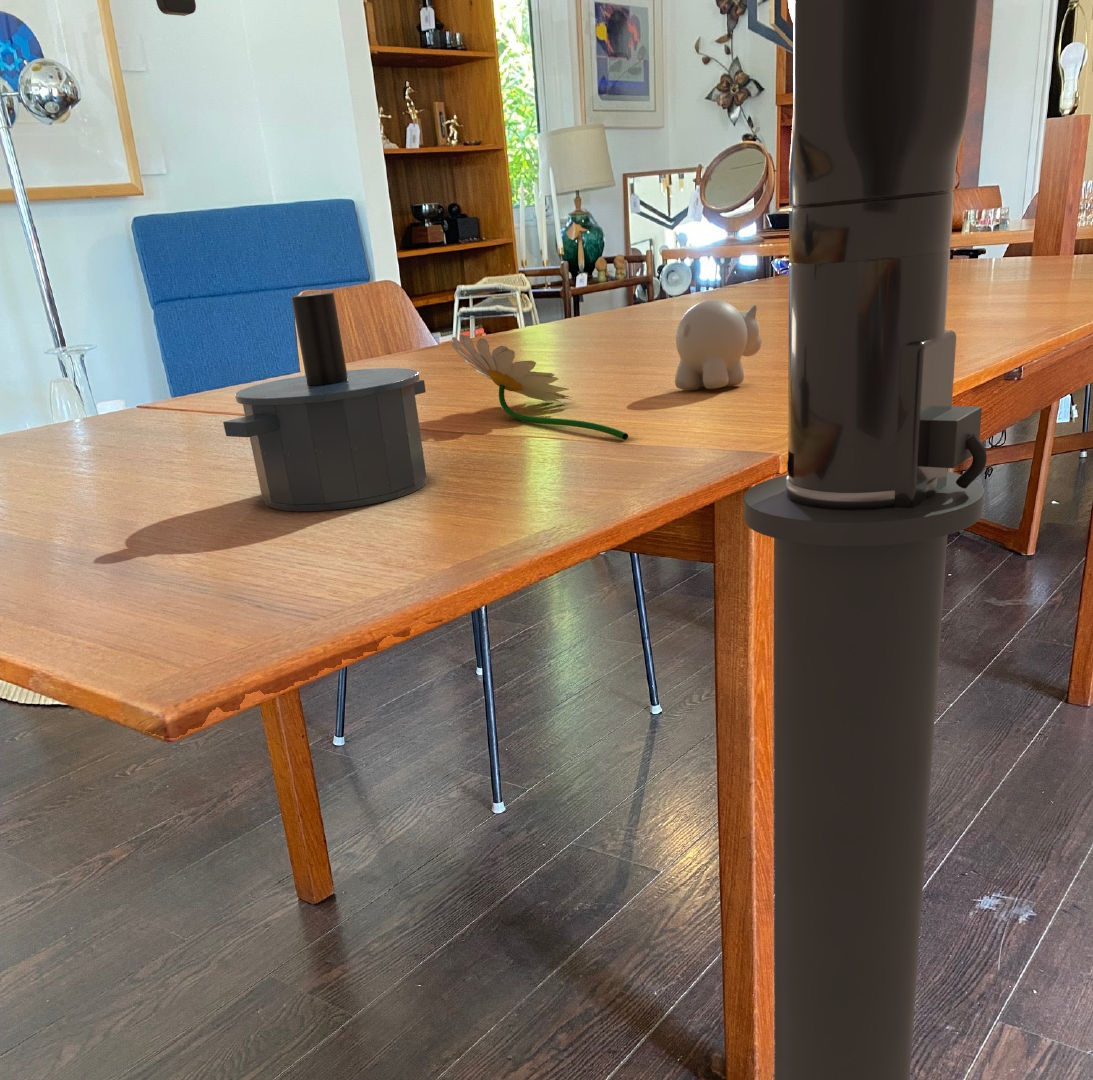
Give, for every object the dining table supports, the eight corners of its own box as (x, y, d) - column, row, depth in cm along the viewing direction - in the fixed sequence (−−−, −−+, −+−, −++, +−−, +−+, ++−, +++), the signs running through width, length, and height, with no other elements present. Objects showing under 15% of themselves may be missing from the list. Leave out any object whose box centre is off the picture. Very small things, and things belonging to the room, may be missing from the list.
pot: (482, 468, 84) (470, 370, 81) (312, 527, 72) (290, 413, 69) (373, 461, 91) (358, 370, 88) (201, 513, 79) (177, 409, 76)
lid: (457, 383, 79) (444, 280, 76) (323, 417, 70) (302, 301, 67) (336, 382, 87) (320, 289, 84) (200, 412, 78) (177, 309, 75)
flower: (585, 371, 85) (437, 316, 108) (554, 435, 86) (415, 367, 109) (697, 438, 93) (537, 373, 116) (667, 495, 94) (515, 420, 117)
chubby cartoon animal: (788, 376, 113) (788, 290, 110) (718, 395, 106) (716, 303, 103) (733, 374, 118) (732, 291, 115) (663, 392, 111) (659, 305, 107)
